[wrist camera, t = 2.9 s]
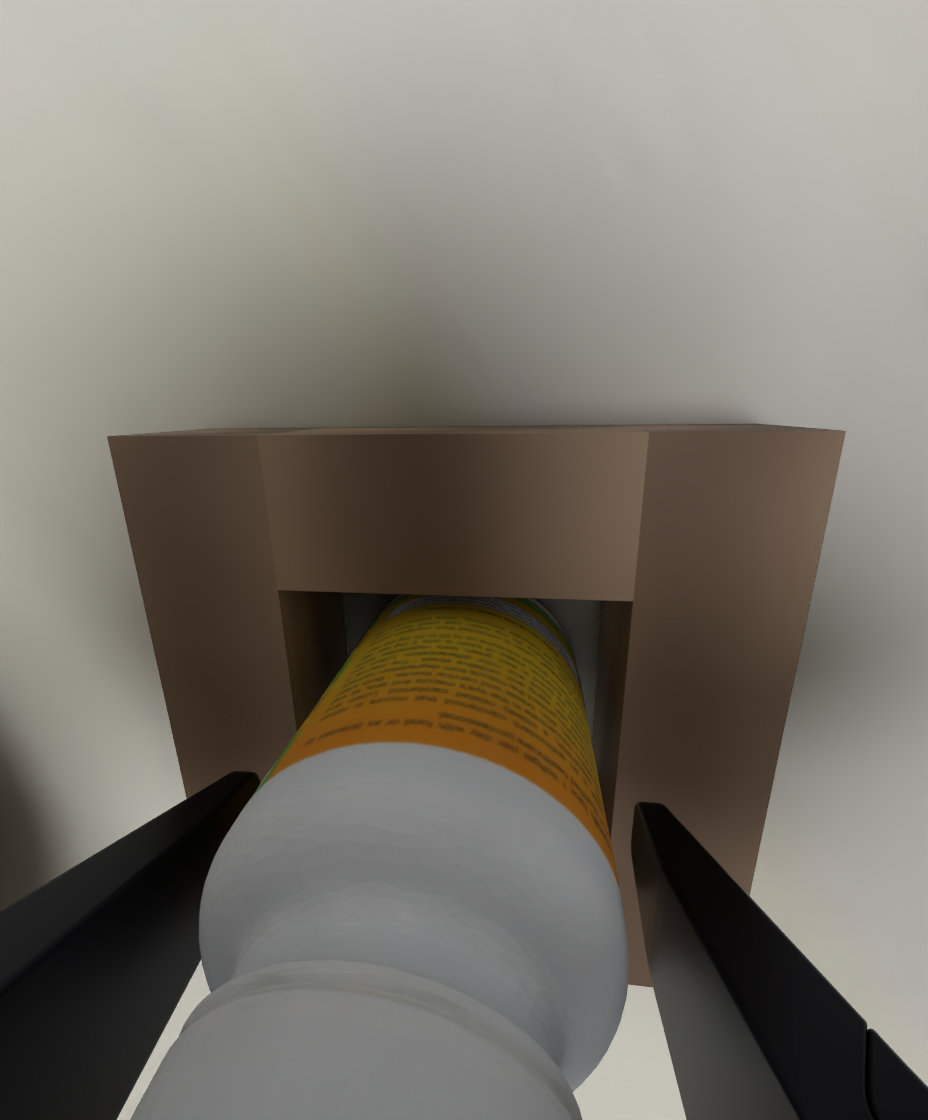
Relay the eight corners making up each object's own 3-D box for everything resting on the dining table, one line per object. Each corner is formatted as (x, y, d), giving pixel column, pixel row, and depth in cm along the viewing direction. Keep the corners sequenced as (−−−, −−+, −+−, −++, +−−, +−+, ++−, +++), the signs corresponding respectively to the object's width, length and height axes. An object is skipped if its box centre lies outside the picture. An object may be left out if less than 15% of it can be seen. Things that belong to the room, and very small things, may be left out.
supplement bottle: (355, 568, 12) (-166, 1069, 3) (579, 569, 12) (789, 1217, 2) (375, 753, 14) (71, 1454, 5) (573, 763, 13) (683, 1604, 4)
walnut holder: (756, 423, 10) (845, 430, 7) (686, 873, 14) (728, 996, 11) (209, 428, 12) (107, 436, 9) (275, 835, 15) (216, 935, 12)
